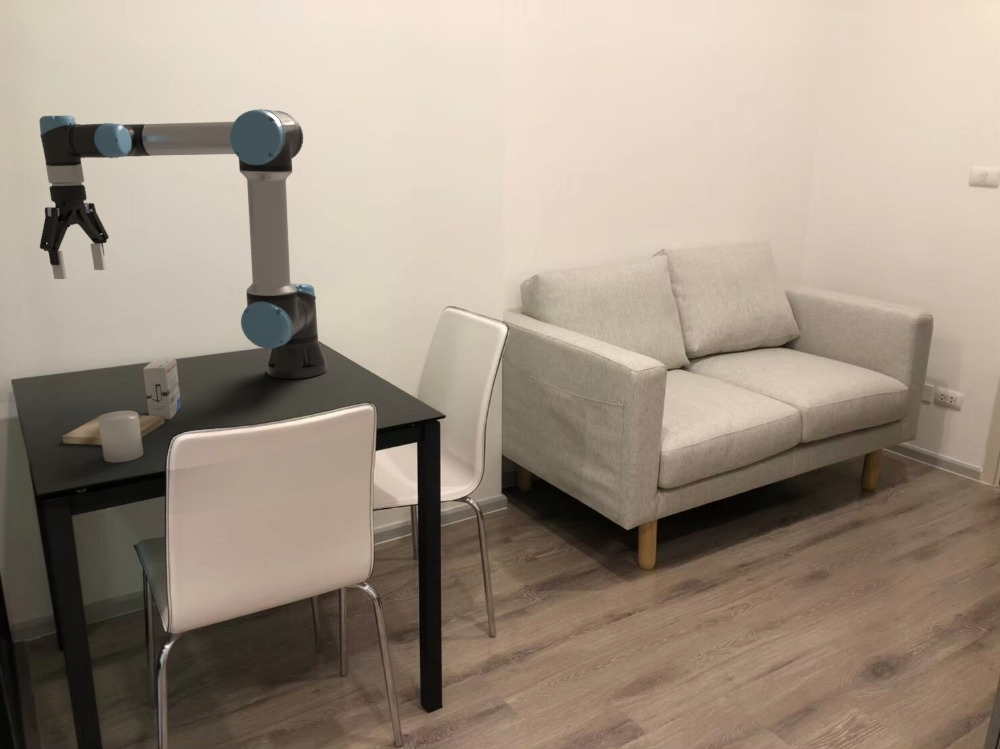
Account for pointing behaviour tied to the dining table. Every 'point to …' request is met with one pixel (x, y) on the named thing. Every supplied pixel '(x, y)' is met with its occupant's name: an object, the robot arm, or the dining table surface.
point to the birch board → (91, 430)
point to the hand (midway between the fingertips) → (80, 274)
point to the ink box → (162, 387)
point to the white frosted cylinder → (120, 436)
